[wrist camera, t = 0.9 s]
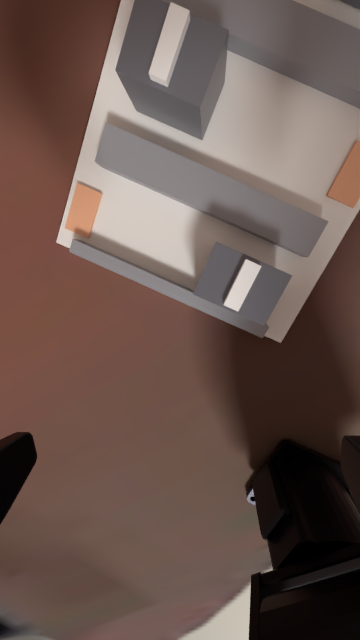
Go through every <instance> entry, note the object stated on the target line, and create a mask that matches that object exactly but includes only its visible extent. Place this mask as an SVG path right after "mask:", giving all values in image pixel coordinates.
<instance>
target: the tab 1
mask: <svg viewBox="0 0 360 640" xmlns="http://www.w3.org/2000/svg"><path fill="white" fill-rule="evenodd" d="M228 36H229V30H228V29H226V28H224V27H222V26H219V25H217V24H215V23H213V22H210V21H208V20H206V19H203V18H201V17H199V16H197V15H194V14H192V13H190V10H188V9H186V8H183V7H181V6H179V5H176V4H174V3H172V2H171V3H170V4H169V3H167V2H165V1H163V0H135V1H134V4H133V8H132V12H131V15H130V19H129V22H128V26H127V29H126V33H125V37H124V40H123V44H122V47H121V51H120V55H119V58H118V62H117V65H116V69H115V71H116V73H117V75H118V77H119V78H120V80H121V82H122V84H123V86H124V88H125V90H126V92H127V94H128V96H129V98H130V100H131V102H132V104H133V106H134V108H135V110H136V111H137V112H139V113H142V114H144V115H146V116H148V117H151V118H153V119H155V120H157V121H160V122H162V123H164V124H166V125H169V126H171V127H173V128H175V129H178V130H180V131H182V132H184V133H187V134H189V135H191V136H193V137H196V138H198V139H200V140H203V137H204V135H205V132H206V130H207V127H208V124H209V122H210V119H211V117H212V114H213V112H214V109H215V106H216V104H217V101H218V99H219V96H220V94H221V91H222V88H223V86H224V83H225V72H226V60H227V48H228Z"/></svg>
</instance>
